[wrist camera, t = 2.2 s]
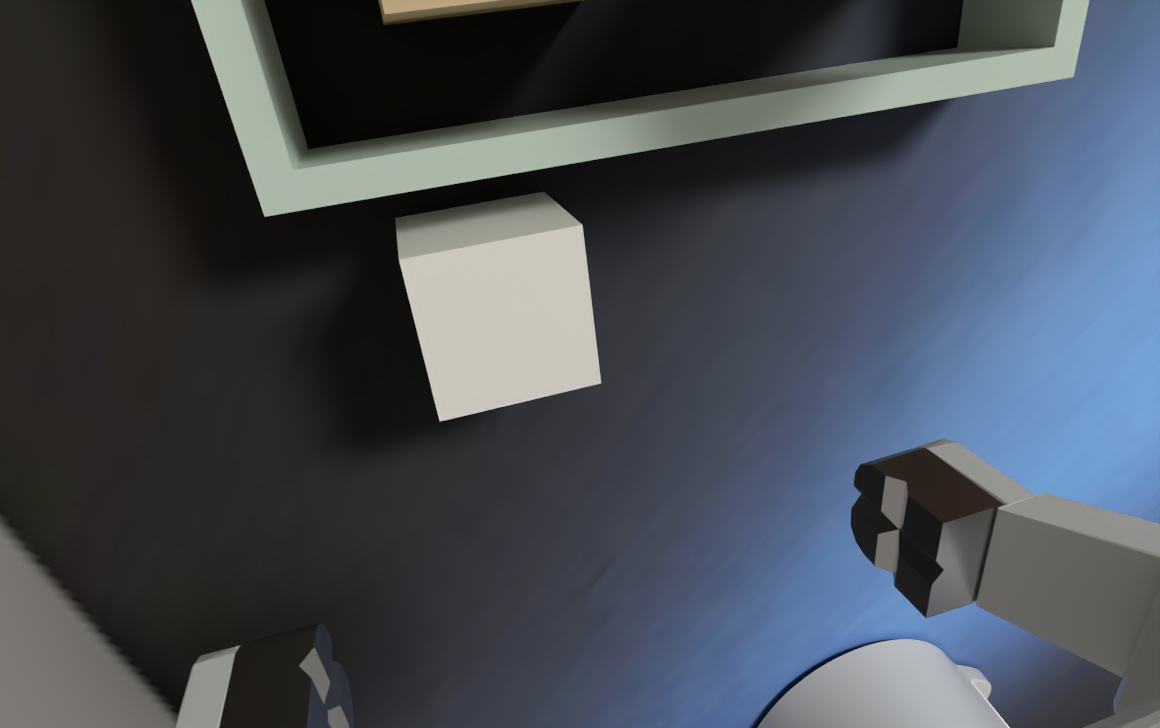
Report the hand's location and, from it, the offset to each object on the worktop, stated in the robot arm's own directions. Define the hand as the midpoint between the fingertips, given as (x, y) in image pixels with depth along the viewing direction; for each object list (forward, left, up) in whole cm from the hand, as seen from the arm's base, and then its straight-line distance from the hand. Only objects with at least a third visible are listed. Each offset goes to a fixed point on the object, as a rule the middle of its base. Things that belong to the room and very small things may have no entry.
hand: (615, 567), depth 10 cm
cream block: (0, 0, -15) cm, 15 cm away
